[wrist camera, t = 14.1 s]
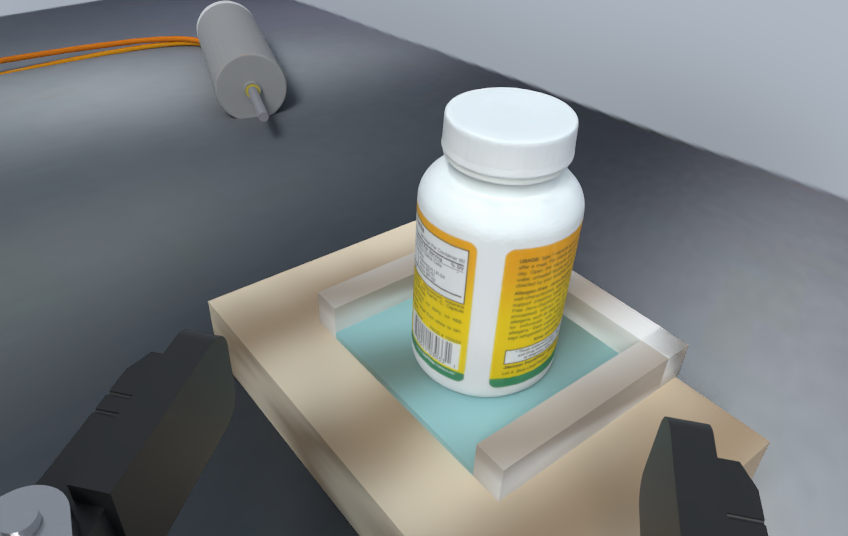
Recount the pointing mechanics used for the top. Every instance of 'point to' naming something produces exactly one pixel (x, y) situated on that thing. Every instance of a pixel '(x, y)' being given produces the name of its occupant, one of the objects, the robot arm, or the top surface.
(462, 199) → the supplement bottle
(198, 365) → the robot arm
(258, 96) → the motor
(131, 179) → the top surface
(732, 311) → the top surface
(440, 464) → the dock
